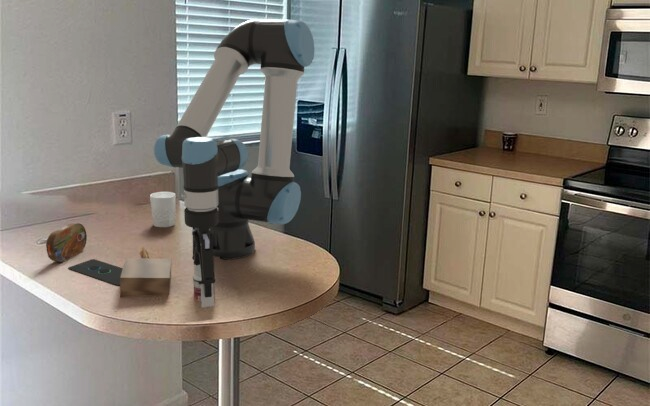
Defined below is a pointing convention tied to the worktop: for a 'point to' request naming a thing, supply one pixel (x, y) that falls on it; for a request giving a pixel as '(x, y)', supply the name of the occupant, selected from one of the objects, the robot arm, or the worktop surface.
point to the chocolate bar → (144, 254)
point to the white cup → (163, 208)
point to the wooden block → (145, 277)
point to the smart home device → (99, 271)
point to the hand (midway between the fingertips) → (204, 299)
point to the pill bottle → (196, 283)
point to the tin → (66, 242)
